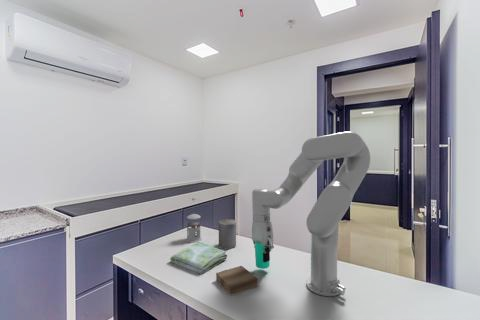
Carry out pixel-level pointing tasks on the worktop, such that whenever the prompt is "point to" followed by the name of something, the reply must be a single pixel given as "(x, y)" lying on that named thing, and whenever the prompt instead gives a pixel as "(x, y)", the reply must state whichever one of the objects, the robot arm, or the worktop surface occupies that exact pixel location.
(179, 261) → the towel
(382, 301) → the worktop surface
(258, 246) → the candle
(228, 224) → the pillar candle
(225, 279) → the walnut base
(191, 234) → the french press
